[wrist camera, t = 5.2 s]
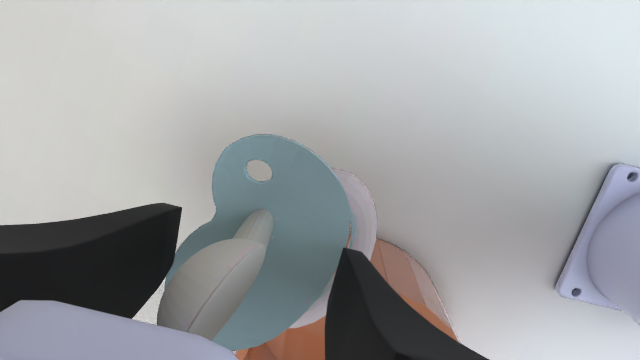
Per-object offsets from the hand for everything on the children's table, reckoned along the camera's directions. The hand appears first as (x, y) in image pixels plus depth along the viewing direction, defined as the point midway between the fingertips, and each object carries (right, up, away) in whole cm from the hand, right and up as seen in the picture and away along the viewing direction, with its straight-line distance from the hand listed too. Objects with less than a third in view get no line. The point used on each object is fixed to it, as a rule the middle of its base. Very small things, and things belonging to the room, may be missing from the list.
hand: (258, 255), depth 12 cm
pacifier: (+1, 0, +2) cm, 2 cm away
